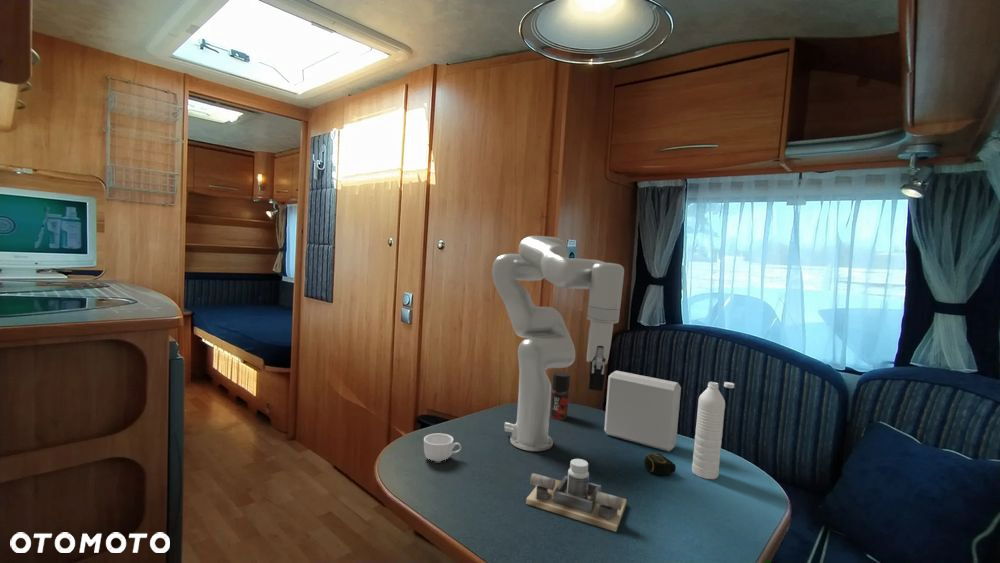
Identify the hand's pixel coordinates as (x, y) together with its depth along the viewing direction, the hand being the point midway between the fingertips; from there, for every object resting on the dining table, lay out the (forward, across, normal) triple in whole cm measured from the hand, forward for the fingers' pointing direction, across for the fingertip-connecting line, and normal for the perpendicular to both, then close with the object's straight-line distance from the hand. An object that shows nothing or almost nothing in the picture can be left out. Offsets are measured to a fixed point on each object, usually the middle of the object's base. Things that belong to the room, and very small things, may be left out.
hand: (595, 383), depth 111 cm
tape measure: (+26, -13, +19) cm, 35 cm away
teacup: (+27, 0, -38) cm, 46 cm away
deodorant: (+27, -44, -10) cm, 53 cm away
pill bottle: (+24, +10, -2) cm, 26 cm away
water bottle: (+25, -16, +32) cm, 44 cm away
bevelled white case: (+26, -33, +16) cm, 45 cm away
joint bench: (+25, +11, -2) cm, 27 cm away
